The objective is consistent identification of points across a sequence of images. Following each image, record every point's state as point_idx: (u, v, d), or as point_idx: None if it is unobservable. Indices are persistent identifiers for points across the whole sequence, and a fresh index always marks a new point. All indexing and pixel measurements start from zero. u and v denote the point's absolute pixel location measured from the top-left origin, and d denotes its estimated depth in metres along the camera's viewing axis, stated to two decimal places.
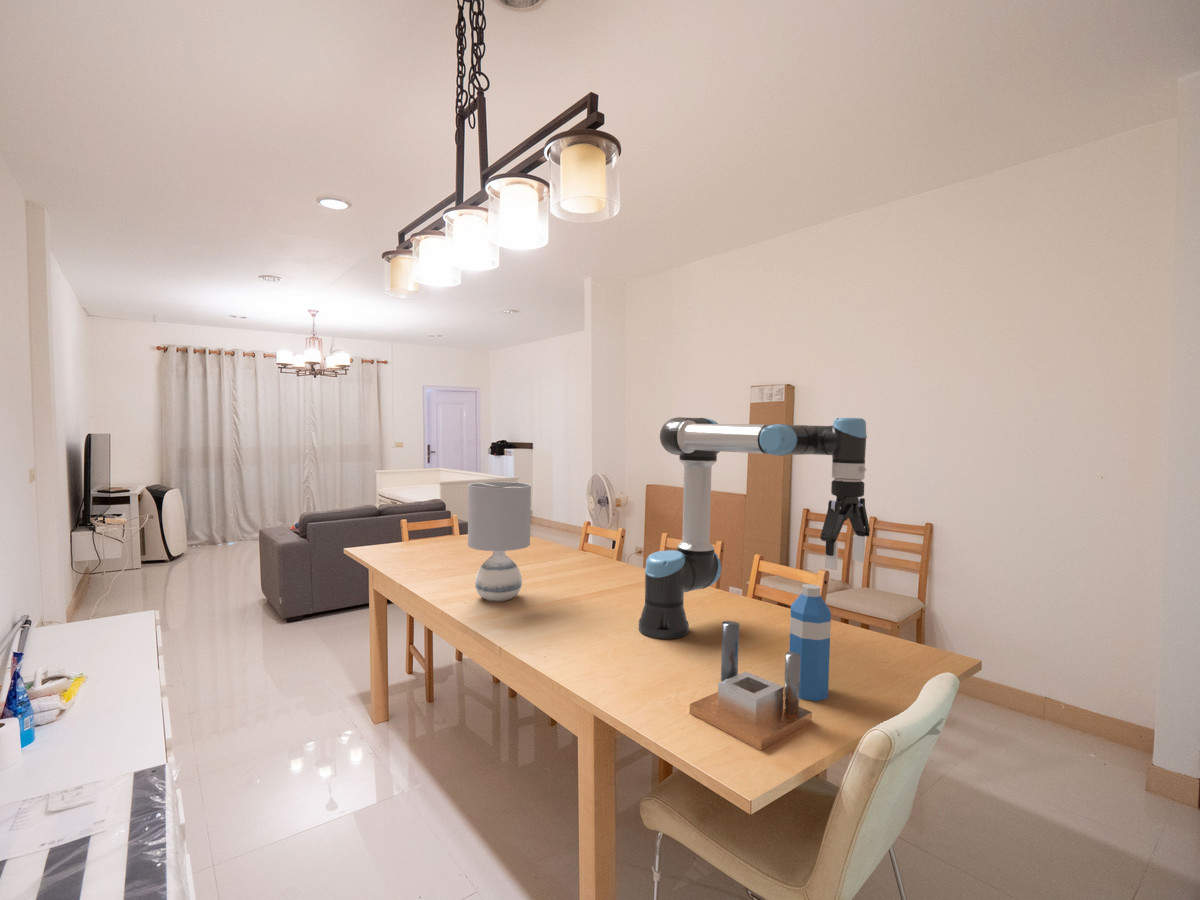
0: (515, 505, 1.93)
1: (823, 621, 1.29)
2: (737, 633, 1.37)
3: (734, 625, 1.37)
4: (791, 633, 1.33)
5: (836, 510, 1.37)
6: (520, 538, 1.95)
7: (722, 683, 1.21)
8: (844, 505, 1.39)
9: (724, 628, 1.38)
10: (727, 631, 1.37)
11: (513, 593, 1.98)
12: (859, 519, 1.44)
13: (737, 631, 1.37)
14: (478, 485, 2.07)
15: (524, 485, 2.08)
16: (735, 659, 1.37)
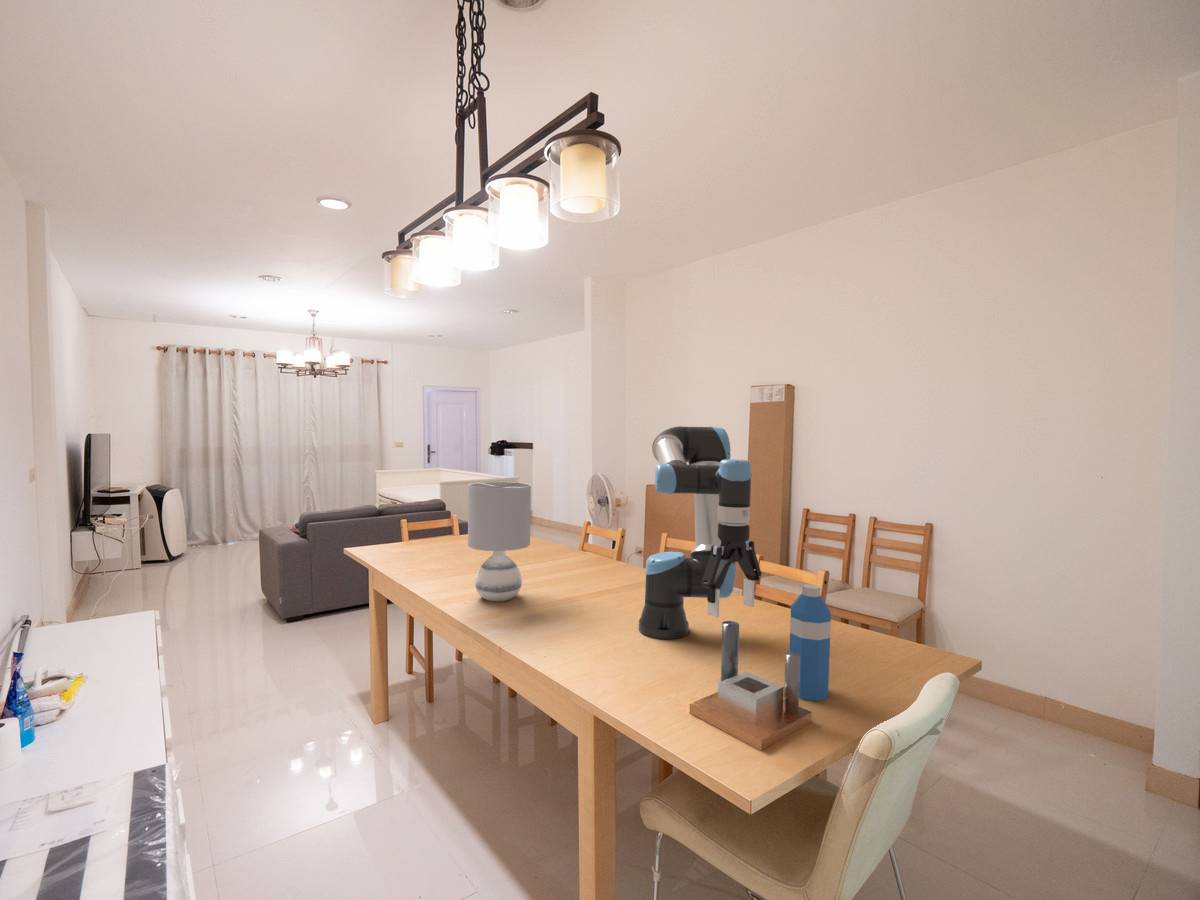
0: (515, 505, 1.93)
1: (823, 621, 1.29)
2: (737, 633, 1.37)
3: (734, 625, 1.37)
4: (791, 633, 1.33)
5: (717, 556, 1.33)
6: (520, 538, 1.95)
7: (722, 683, 1.21)
8: (727, 550, 1.35)
9: (724, 628, 1.38)
10: (727, 631, 1.37)
11: (513, 593, 1.98)
12: (747, 563, 1.40)
13: (737, 631, 1.37)
14: (478, 485, 2.07)
15: (524, 485, 2.08)
16: (735, 659, 1.37)
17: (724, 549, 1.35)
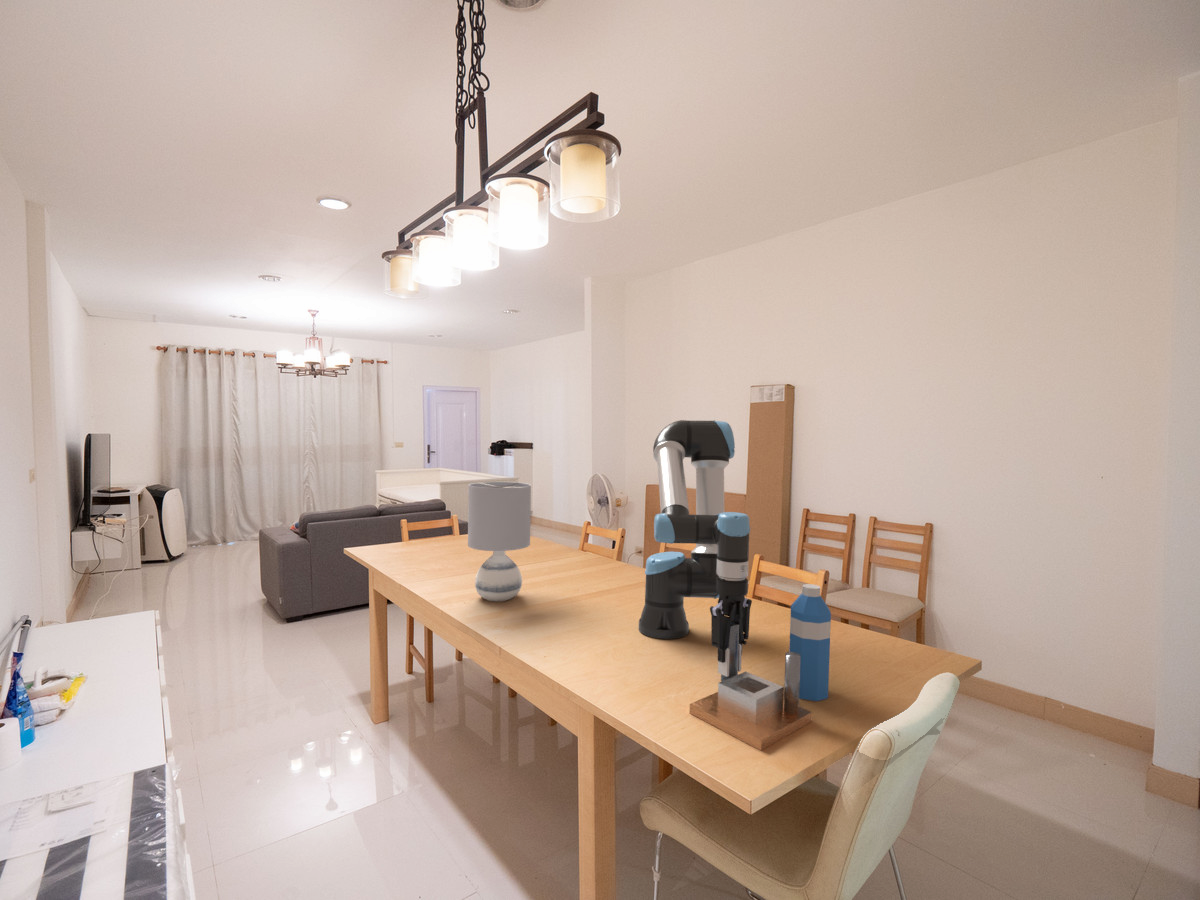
0: (515, 505, 1.93)
1: (823, 621, 1.29)
2: (737, 633, 1.37)
3: (734, 625, 1.37)
4: (791, 633, 1.33)
5: (718, 618, 1.34)
6: (520, 538, 1.95)
7: (722, 683, 1.21)
8: (726, 605, 1.35)
9: None
10: None
11: (513, 593, 1.98)
12: (740, 621, 1.39)
13: (737, 631, 1.37)
14: (478, 485, 2.07)
15: (524, 485, 2.08)
16: (735, 659, 1.37)
17: (723, 606, 1.35)
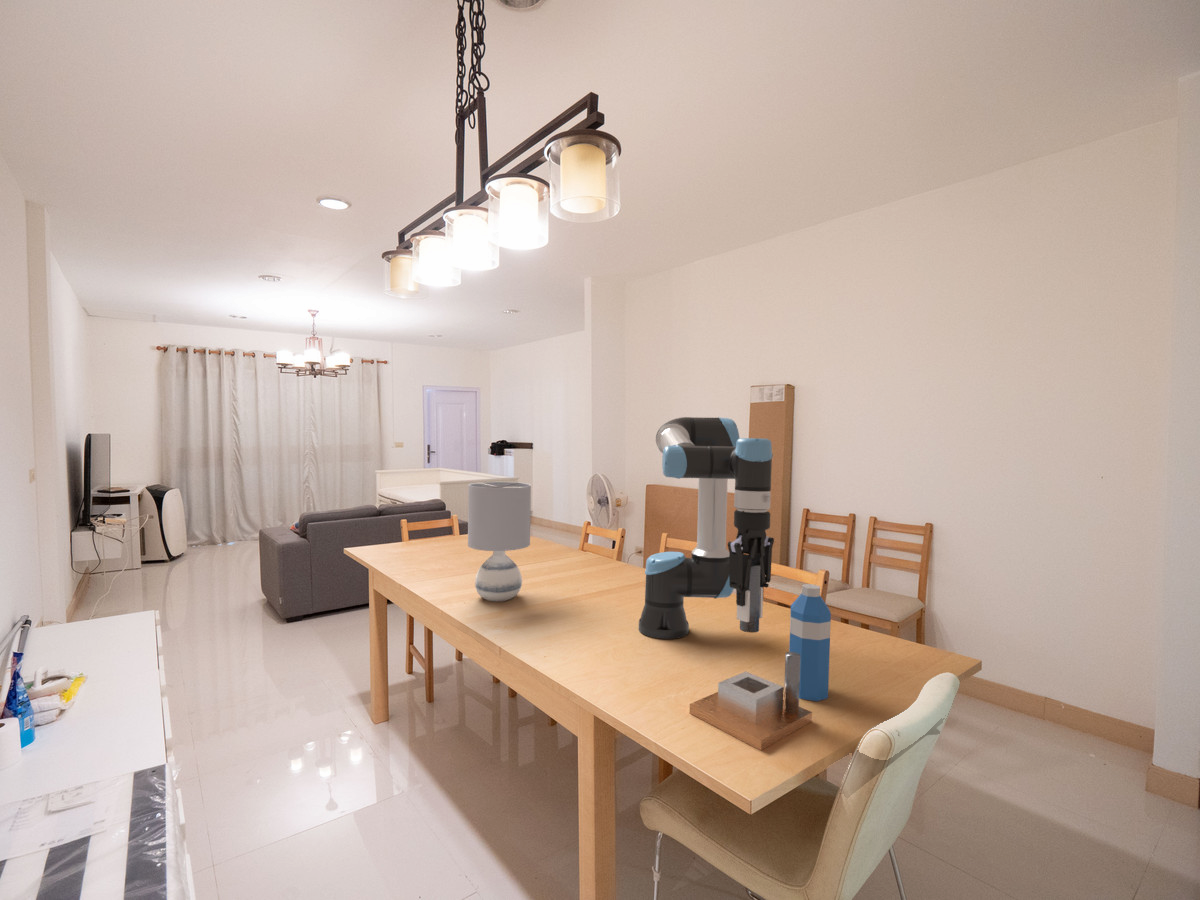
0: (515, 505, 1.93)
1: (822, 621, 1.29)
2: (758, 574, 1.21)
3: (755, 565, 1.21)
4: (791, 633, 1.33)
5: (737, 554, 1.18)
6: (520, 538, 1.95)
7: (722, 683, 1.21)
8: (746, 540, 1.20)
9: None
10: None
11: (513, 593, 1.98)
12: (761, 560, 1.23)
13: (758, 572, 1.21)
14: (478, 485, 2.07)
15: (524, 485, 2.08)
16: (756, 604, 1.21)
17: (742, 541, 1.19)
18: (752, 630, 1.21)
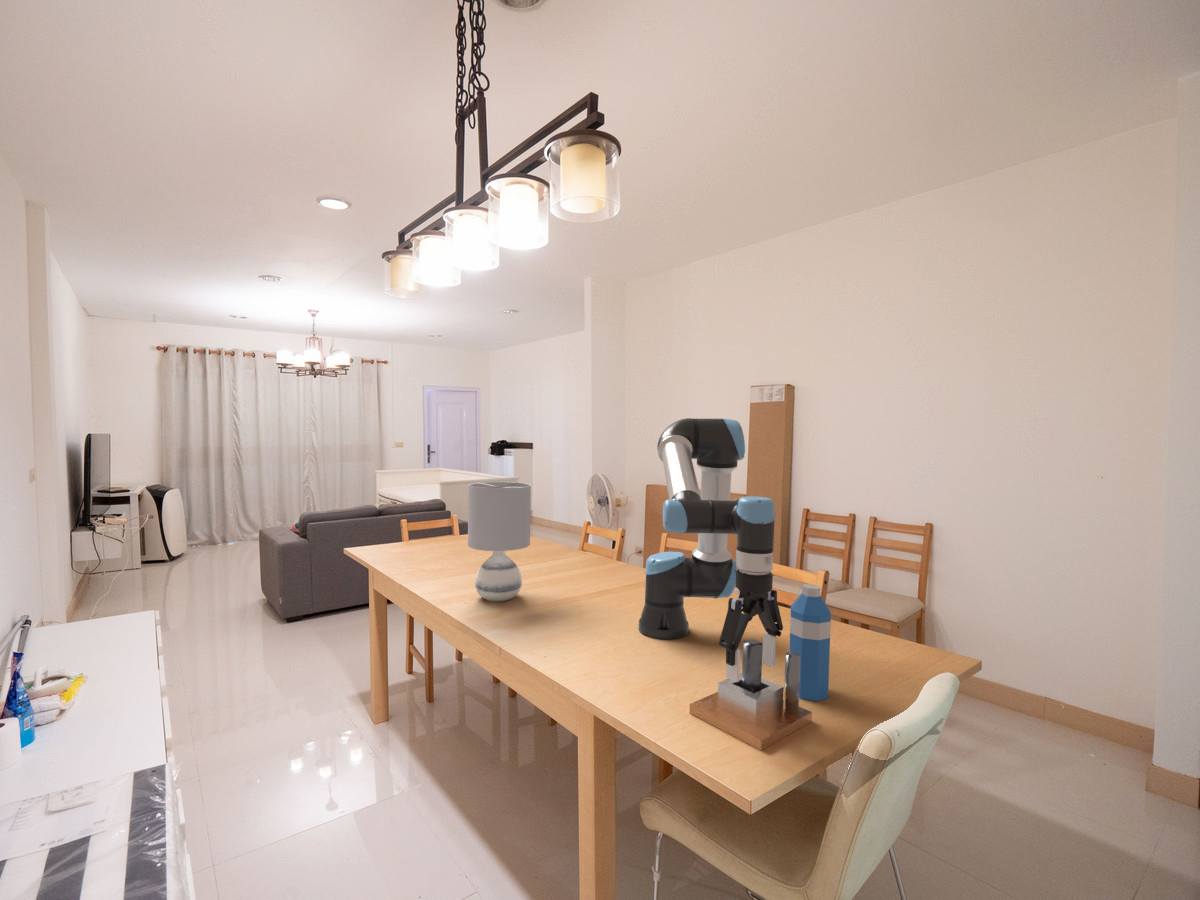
0: (515, 505, 1.93)
1: (823, 621, 1.29)
2: (760, 654, 1.19)
3: (757, 645, 1.19)
4: (791, 633, 1.33)
5: (736, 611, 1.15)
6: (520, 538, 1.95)
7: (722, 683, 1.21)
8: (747, 602, 1.17)
9: (745, 649, 1.20)
10: (748, 652, 1.19)
11: (513, 593, 1.98)
12: (768, 616, 1.22)
13: (760, 652, 1.19)
14: (478, 485, 2.07)
15: (524, 485, 2.08)
16: (757, 683, 1.19)
17: (744, 602, 1.17)
18: None
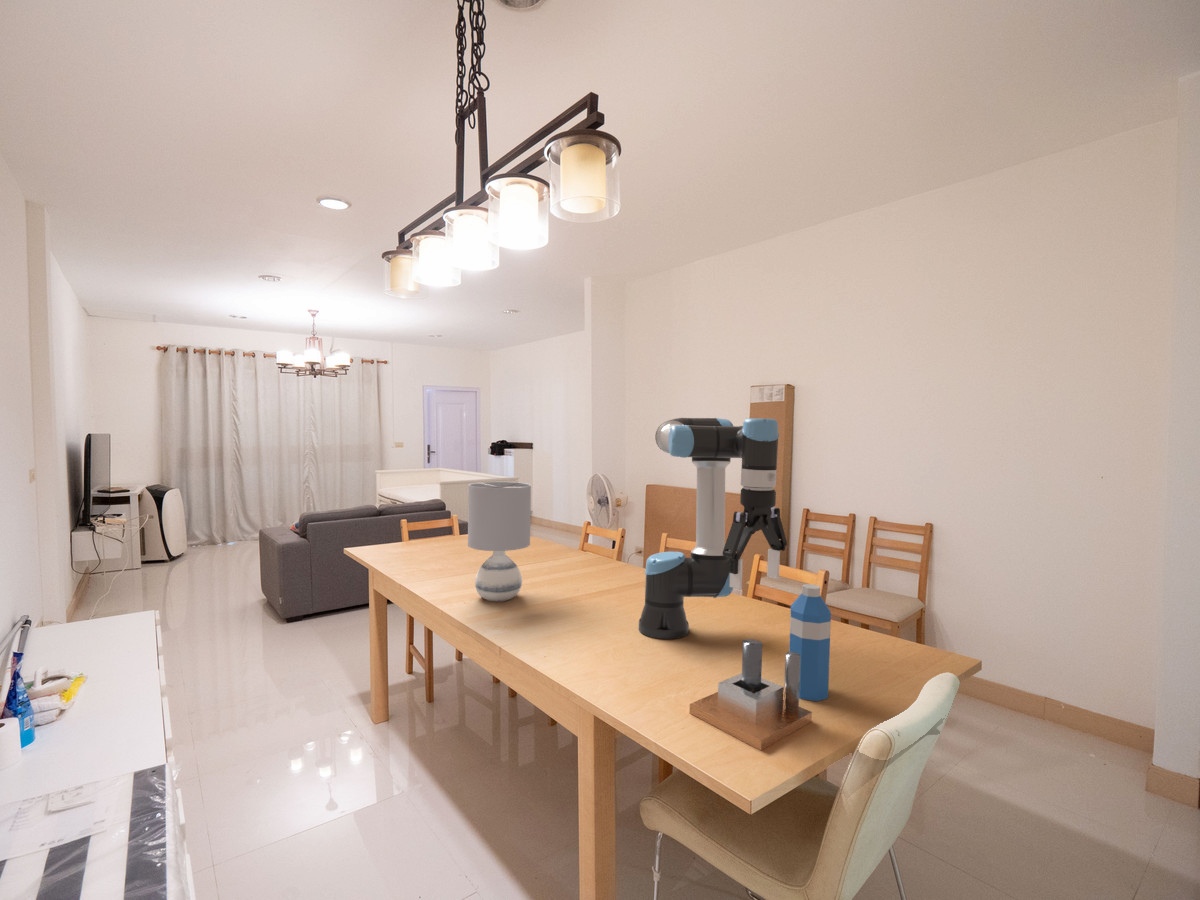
0: (515, 505, 1.93)
1: (823, 621, 1.29)
2: (760, 654, 1.19)
3: (756, 644, 1.20)
4: (791, 633, 1.33)
5: (741, 523, 1.21)
6: (520, 538, 1.95)
7: (722, 683, 1.21)
8: (751, 517, 1.23)
9: (745, 648, 1.20)
10: (748, 651, 1.19)
11: (513, 593, 1.98)
12: (772, 532, 1.28)
13: (760, 651, 1.19)
14: (478, 485, 2.07)
15: (524, 485, 2.08)
16: (757, 683, 1.19)
17: (748, 516, 1.23)
18: None
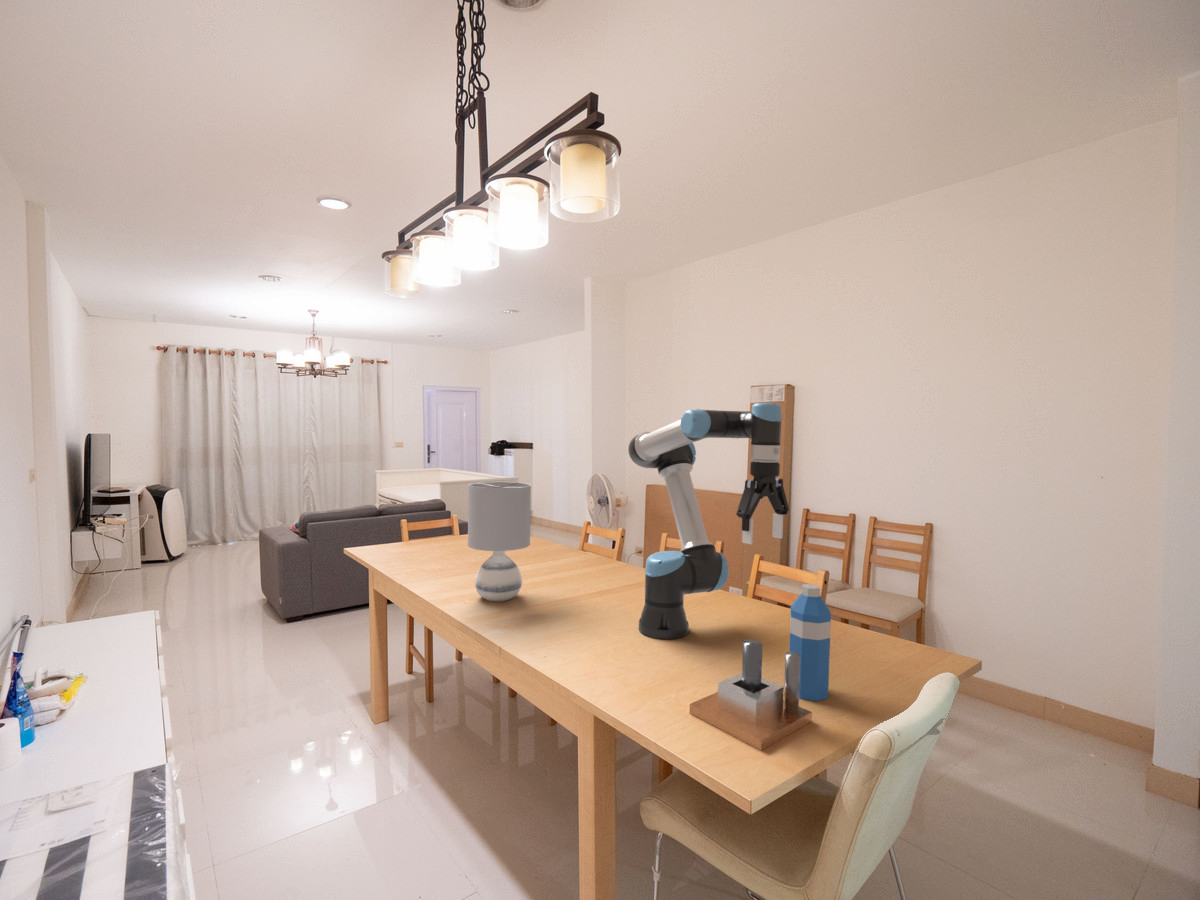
0: (515, 505, 1.93)
1: (823, 621, 1.29)
2: (760, 654, 1.19)
3: (757, 645, 1.20)
4: (791, 633, 1.33)
5: (751, 488, 1.47)
6: (520, 538, 1.95)
7: (722, 683, 1.21)
8: (760, 484, 1.49)
9: (745, 648, 1.20)
10: (749, 651, 1.19)
11: (513, 593, 1.98)
12: (777, 498, 1.54)
13: (760, 652, 1.19)
14: (478, 485, 2.07)
15: (524, 485, 2.08)
16: (758, 683, 1.19)
17: (757, 483, 1.49)
18: None
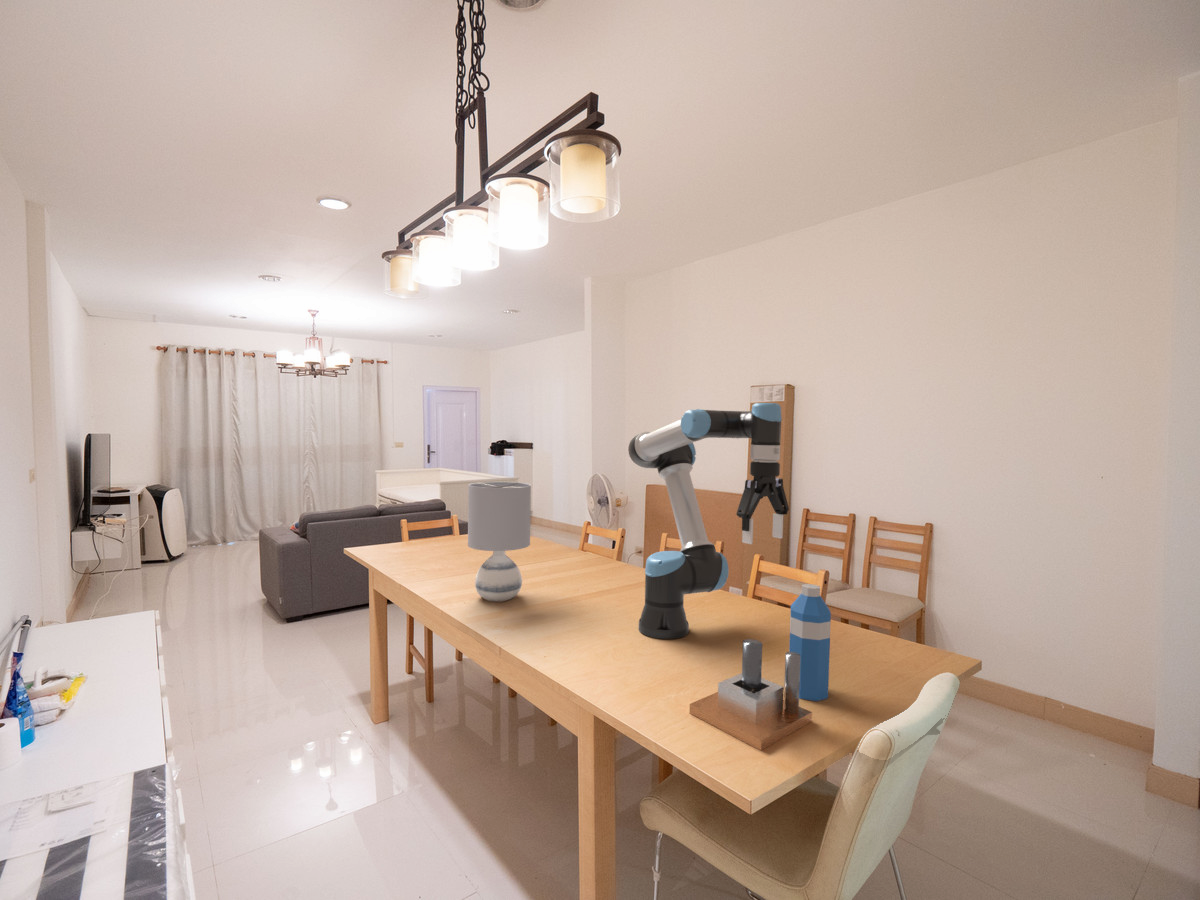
0: (515, 505, 1.93)
1: (822, 621, 1.29)
2: (760, 654, 1.19)
3: (756, 644, 1.20)
4: (791, 633, 1.33)
5: (751, 488, 1.47)
6: (520, 538, 1.95)
7: (722, 683, 1.21)
8: (760, 484, 1.49)
9: (745, 648, 1.20)
10: (748, 651, 1.19)
11: (513, 593, 1.98)
12: (777, 498, 1.54)
13: (760, 651, 1.19)
14: (478, 485, 2.07)
15: (524, 485, 2.08)
16: (757, 683, 1.19)
17: (757, 483, 1.49)
18: None
